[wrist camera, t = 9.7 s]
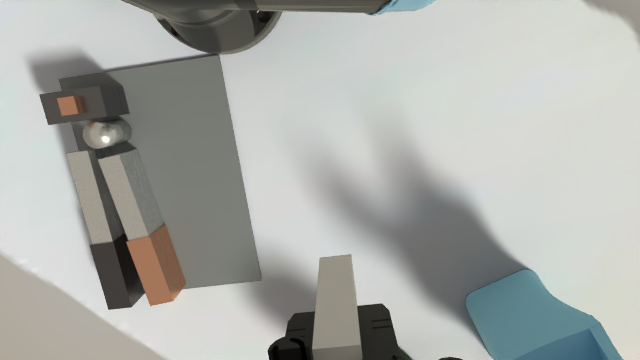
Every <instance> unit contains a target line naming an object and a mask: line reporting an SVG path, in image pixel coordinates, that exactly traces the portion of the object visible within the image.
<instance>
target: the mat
mask: <svg viewBox="0 0 640 360" xmlns="http://www.w3.org/2000/svg"><path fill="white" fill-rule="evenodd" d="M59 82H60V85H61V89H62V91H67V90H74V89H81V88H87V87H94V86H123V88H124V92H125V96H126V100H127V105H128V109H129V113H130V114H126V115H119V116H112V117H105V118H98V119H91V120H84V121H77V122H71V124H72V127H73V131H74V135H75V138H76V142H77V145H78V149H79V150H84V149H88V148H92V147H90V146H89V145H87V144H86V142H85V141H84V138H83V129H84V127H85V126H86V125H87V124H89V123H93V122H101V121H108V120H116V119H121V120H124V121H126V122H127V123H128V124H129V125H130V127H131V129H132V136H131V138H130V139H129V140H128V141H127V142H124V143H120V144H116V145H112V146H109V150H110V154H111V156H112V155H115V154H119V153H123V152H127V151H131V150H135V149H137V150H138V153H139V155H140V158H141V161H142V164H143V167H144V170H145V172H146V175H147V178H148V181H149V184H150V187H151V189H152V192H153V195H154V198H155V201H156V204H157V206H158V209H159V212H160V215H161V218H162V221H163V223H164V224H165V225H166V227H167V230H168V233H169V236H170V239H171V242H172V244H173V247H174V250H175V253H176V256H177V259H178V262H179V264H180V267H181V270H182V273H183V276H184V279H185V281H186V285H185V286H184V287H183V289H189V288H198V287H207V286H216V285H225V284H234V283H243V282H252V281H261V273H260V268H259V263H258V257H257V252H256V247H255V242H254V236H253V231H252V226H251V221H250V215H249V210H248V205H247V199H246V194H245V189H244V184H243V178H242V173H241V168H240V163H239V157H238V152H237V147H236V141H235V136H234V131H233V126H232V120H231V115H230V110H229V104H228V99H227V94H226V89H225V83H224V78H223V73H222V68H221V62H220V57H219V55H216V56H209V57H202V58H196V59H189V60H183V61H176V62H170V63H163V64H156V65H150V66H143V67H137V68H130V69H124V70H117V71H110V72H104V73H97V74H91V75H84V76H78V77H71V78H64V79H59Z"/></svg>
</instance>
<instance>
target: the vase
mask: <svg viewBox="0 0 640 360" xmlns="http://www.w3.org/2000/svg"><path fill="white" fill-rule="evenodd" d="M465 305H466V308H467V311H468V313H469V315H470V317H471V319H472V321H473V323H474V325H475V327H476V329H477V331H478V333H479V335H480V337H481V339H482V341H483V343H484V345H485V347H486V349H487V350H488V352H489V354H490V356H491V357H492V358H493V359H494V360H623V359H622V357H621V356H620V355H619V353H618V352H617V350H616V348H615V347H614V345H613V344H612V342H611V340H610V339H609V337H608V335H607V334H606V332H605V330H604V328H603V327H602V325H601V323H600V322H598V321H597V320H596V319H595V318H594V317H593V316H592V315H589V314H586V313H584V312H582V311H579V310H577V309H575V308H573V307H571V306H569V305H567V304H565V303H563V302H561V301H560V300H558V299H557V298H555V297H554V296H553V295H552V294H550V293H549V291H548V290H547V289H546V288H545V286H544V285H543V283H542V282H541V280H540V279H539V277H538V275H537V274H536V273H535V272H533V271H531V270H527V269H525V270H521V271H518V272H516V273H514V274H511V275H509V276H507V277H505V278H502V279H500V280H498V281H496V282H493V283H491V284H489V285H487V286H484V287H482V288H480V289H478V290H475V291H473V292H471V293H470V294H468V296H467V297H466V300H465Z"/></svg>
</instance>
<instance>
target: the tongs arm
mask: <svg viewBox="0 0 640 360" xmlns="http://www.w3.org/2000/svg"><path fill="white" fill-rule="evenodd" d="M131 136H132V129H131V127H130V125H129V124H128V123H127V122H126V121H124V120H121V119H116V120H108V121H101V122H93V123H89V124H87V125H86V126H85V127H84V129H83V138H84V141H85V142H86V144H87V145H89V146H90V147H92V148H95V149H100V148H104V147H108V146H112V145H116V144H120V143H124V142H127V141H128V140H129V139H130V138H131ZM98 161H99V164H100V167H101V169H102V172H103V174H104V177H105V180H106V182H107V185H108V188H109V190H110V193H111V196H112V198H113V201H114V204H115V206H116V209H117V211H118V214H119V217H120V219H121V222H122V225H123V227H124V230H125V233H126V235H127V238H128V241H127V242H126V243H127V246H128V248H129V251H130V254H131V256H132V259H133V261H134V264H135V267H136V269H137V272H138V275H139V277H140V280H141V282H142V285H143V288H144V290H145V293H146V296H147V298H148V301H149V304H150V306H152V305H157V304H162V303H167V302H171V301H174V299H175V298H176V297H177V295H178V294H179V293H180V291H181V290H182V289H183V287H184V286H185V285H186V281H185V279H184V276H183V273H182V270H181V267H180V264H179V262H178V259H177V256H176V253H175V250H174V247H173V244H172V242H171V239H170V236H169V233H168V230H167V227H166V225H165V224H164V223H163V221H162V218H161V215H160V212H159V209H158V206H157V204H156V201H155V198H154V195H153V192H152V189H151V187H150V184H149V181H148V178H147V175H146V172H145V170H144V167H143V164H142V161H141V158H140V155H139V153H138V150H137V149H135V150H131V151H127V152H123V153H119V154H115V155H112V156H109V157H105V158H102V159H98Z"/></svg>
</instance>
